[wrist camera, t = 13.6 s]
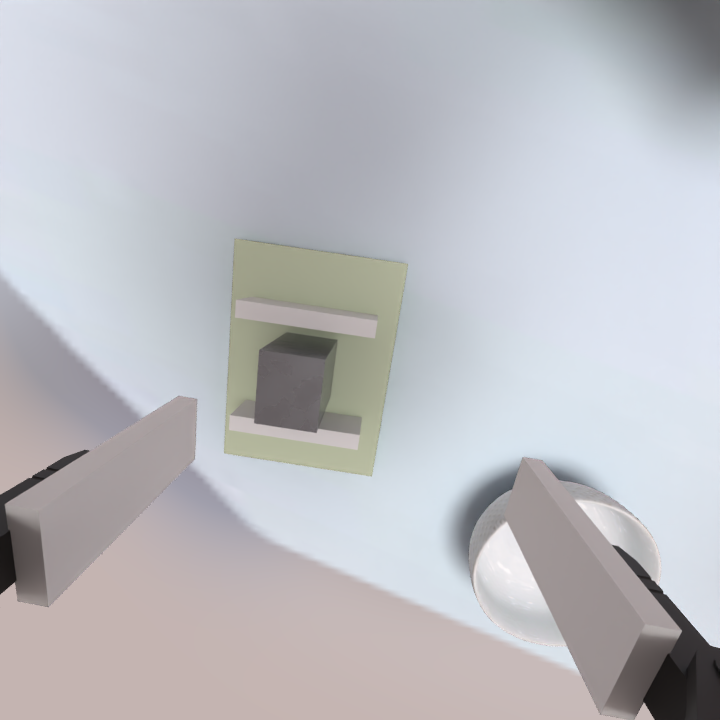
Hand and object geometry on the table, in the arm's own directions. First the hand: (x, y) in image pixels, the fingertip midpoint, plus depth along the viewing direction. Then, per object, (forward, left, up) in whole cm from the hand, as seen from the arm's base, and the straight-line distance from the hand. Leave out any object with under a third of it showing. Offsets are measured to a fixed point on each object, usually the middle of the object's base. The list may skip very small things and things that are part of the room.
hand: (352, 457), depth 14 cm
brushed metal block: (+2, -6, -20) cm, 21 cm away
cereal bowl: (+18, +21, -22) cm, 35 cm away
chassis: (+3, -6, -22) cm, 23 cm away
